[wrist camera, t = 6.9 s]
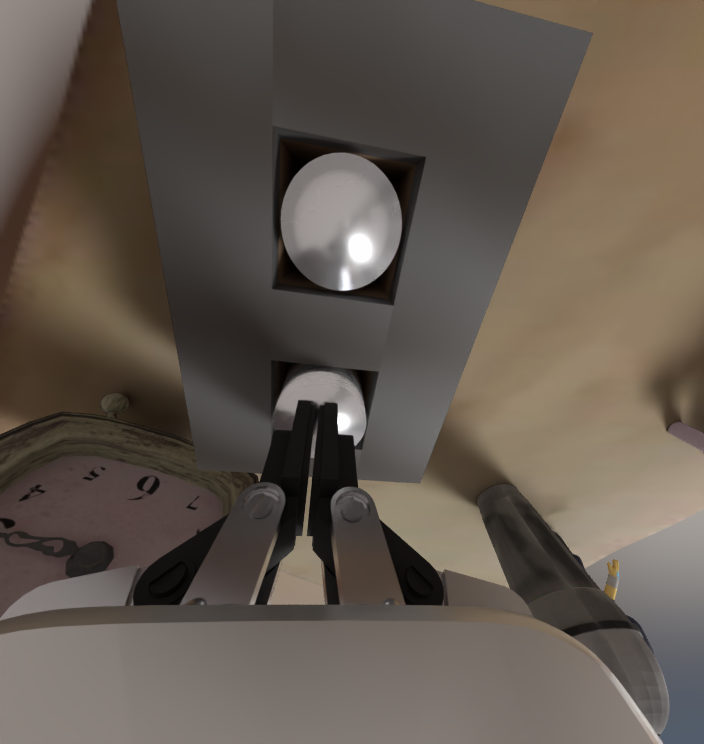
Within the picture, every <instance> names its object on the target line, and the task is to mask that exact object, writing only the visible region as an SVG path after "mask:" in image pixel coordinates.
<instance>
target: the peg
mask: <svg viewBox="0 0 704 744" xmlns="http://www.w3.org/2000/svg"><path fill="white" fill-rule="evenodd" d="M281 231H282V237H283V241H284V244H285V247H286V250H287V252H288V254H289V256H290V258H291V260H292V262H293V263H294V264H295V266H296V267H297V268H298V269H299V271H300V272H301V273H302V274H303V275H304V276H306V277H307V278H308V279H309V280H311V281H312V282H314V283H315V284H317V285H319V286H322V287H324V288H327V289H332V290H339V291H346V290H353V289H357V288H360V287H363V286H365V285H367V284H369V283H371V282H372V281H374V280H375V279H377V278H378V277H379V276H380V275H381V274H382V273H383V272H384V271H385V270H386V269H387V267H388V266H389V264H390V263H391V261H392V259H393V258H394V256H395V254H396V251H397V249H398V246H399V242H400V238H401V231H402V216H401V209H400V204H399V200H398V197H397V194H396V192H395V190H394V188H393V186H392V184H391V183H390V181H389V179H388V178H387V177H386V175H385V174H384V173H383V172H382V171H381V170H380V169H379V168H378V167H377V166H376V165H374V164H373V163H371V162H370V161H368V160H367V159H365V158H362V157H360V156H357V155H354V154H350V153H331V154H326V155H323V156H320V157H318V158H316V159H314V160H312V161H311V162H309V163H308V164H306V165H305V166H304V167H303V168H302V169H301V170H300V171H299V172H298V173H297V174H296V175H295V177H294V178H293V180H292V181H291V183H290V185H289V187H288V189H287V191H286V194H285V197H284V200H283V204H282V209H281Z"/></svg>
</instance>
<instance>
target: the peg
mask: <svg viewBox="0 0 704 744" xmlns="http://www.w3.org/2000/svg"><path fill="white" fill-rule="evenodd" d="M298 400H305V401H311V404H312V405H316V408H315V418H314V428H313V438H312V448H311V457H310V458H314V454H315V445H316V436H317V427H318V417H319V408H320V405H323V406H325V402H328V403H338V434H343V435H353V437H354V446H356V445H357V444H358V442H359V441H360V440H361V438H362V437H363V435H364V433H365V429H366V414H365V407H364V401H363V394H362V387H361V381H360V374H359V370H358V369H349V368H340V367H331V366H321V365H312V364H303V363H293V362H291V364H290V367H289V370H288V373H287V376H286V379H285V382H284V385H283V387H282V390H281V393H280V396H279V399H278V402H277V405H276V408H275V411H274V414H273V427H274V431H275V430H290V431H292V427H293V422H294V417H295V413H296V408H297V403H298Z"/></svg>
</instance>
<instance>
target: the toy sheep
mask: <svg viewBox="0 0 704 744" xmlns="http://www.w3.org/2000/svg"><path fill="white" fill-rule="evenodd" d="M668 432H669V433H670V434H671V435H673V436H675V437H677V438H679V439H680V440H682V441H684V442H686V443H688V444H690V445H692V446H694V447H696V448H698V449H699V450H701V451H703V452H704V433H702V432H700V431H698V430H696V429H694V428H692V427H690V426H688V425H686V424H683V423H681V422H676V423H673V424H672V425H671V426H670V427H669V429H668Z"/></svg>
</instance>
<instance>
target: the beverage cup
mask: <svg viewBox="0 0 704 744" xmlns="http://www.w3.org/2000/svg"><path fill="white" fill-rule="evenodd" d="M477 505H478V507H479V509H480V513H481V515H482V519H483V522H484V524H485V527H486V529H487V532H488V534H489V537H490V539H491V542H492V544H493V547H494V549H495V552H496V554H497V557H498V559H499V562H500V564H501V567H502V569H503V572H504V574H505V577H506V579H507V582H508V584H509V587H510V589H511V590H513V591H514V592H515V593H517V594H518V595H519V596H520V597H521V598H522V599H523V600H524V602H525V603H526V604H527V605H528V607H529V609H530V611H531V613H532V615H533V617H534V618H535V619H538V620H540V621H543V622H545V623H547V624H549V625H551V626H553V627H555V628H557V629H559V630H561V631H563V632H565V633H566V634H568V635H569V636H571V637H573V638H574V639H576V640H577V641H579V642H580V643H582V644H583V645H585V646H586V647H587V648H588V649H589V650H591V651H592V652H593V653H594V654H595V655H596V656H597V657H598V658H599V659H600V660H601V661H602V662H603V663H604V664H605V665H606V666H607V667H608V668H609V670H610V671H611V672H612V673H613V674H614V676H615V677H616V678H617V679H618V680H619V682H620V683H621V684H622V686H623V687H624V688H625V690H626V691H627V692H628V693H629V695H630V696H631V698H632V699H633V701H634V702H635V703H636V705H637V706H638V708H639V709H640V710H641V712H642V713H643V715H644V716H645V717H646V719H647V720H648V722H649V723H650V724H651V726H652V727H653V729H654V730H655V732H656V733H657V735H658V736H660V734H661V733H662V731H663V730H664V728H665V727H666V724H667V720H668V716H669V696H668V690H667V686H666V683H665V679H664V676H663V674H662V671H661V669H660V667H659V664H658V663H657V660H656V659H655V657H654V655H653V653H652V651H651V650H650V648H649V646H648V645H647V643H646V642H645V640H644V639H643V636H642V634H641V632H640V630H639V628H638V627H637V625H636V624H634V623H631V622H630V620H629V619H628V618H627V616H626V615H625V614H624V612H623V611H622V610H621V609H620V608H619V607H618V606H617V605H616V604H615V602H614V601H613V600H612V599H611V598H610V597H609V596H608V595H607V594H606V593H605V592H604V591H601V590H600V588H599V587H598V586H597V585H596V583H595V582H594V581H593V580H592V579H591V577H590V576H589V575H588V574H587V572H586V571H585V570H584V569H583V568H582V566H581V565H580V564H579V563H578V561H577V560H576V559H575V558H574V557H573V555H572V554H571V553H570V552H569V550H568V549H567V548H566V547H565V545H564V544H563V543H562V542H561V541H560V539H559V538H558V537H557V536H556V534H555V533H554V532H553V531H552V530H551V528H550V527H549V526H548V525H547V523H546V522H545V521H544V520H543V519H542V517H541V516H540V515H539V514H538V512H537V511H536V510H535V509H534V508H533V506H532V505H531V504H530V503H529V501H528V500H527V499H525V498H524V496H523V495H522V494H521V493H520V492H519V491H518V489H517V488H516V487H515V486H513V485H509V484H499V485H495V486H492V487H490V488H488V489H486V490H485V491H483V492H482V493H481V494H480V495H479V497H478V499H477Z"/></svg>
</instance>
